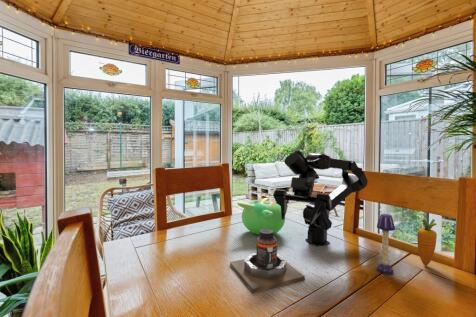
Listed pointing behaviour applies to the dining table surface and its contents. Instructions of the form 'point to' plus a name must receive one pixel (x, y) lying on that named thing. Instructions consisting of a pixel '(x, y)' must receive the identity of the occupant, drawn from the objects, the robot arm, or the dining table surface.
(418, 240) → the carrot
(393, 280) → the dining table surface
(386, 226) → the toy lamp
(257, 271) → the ring
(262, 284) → the stand
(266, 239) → the supplement bottle
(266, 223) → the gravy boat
